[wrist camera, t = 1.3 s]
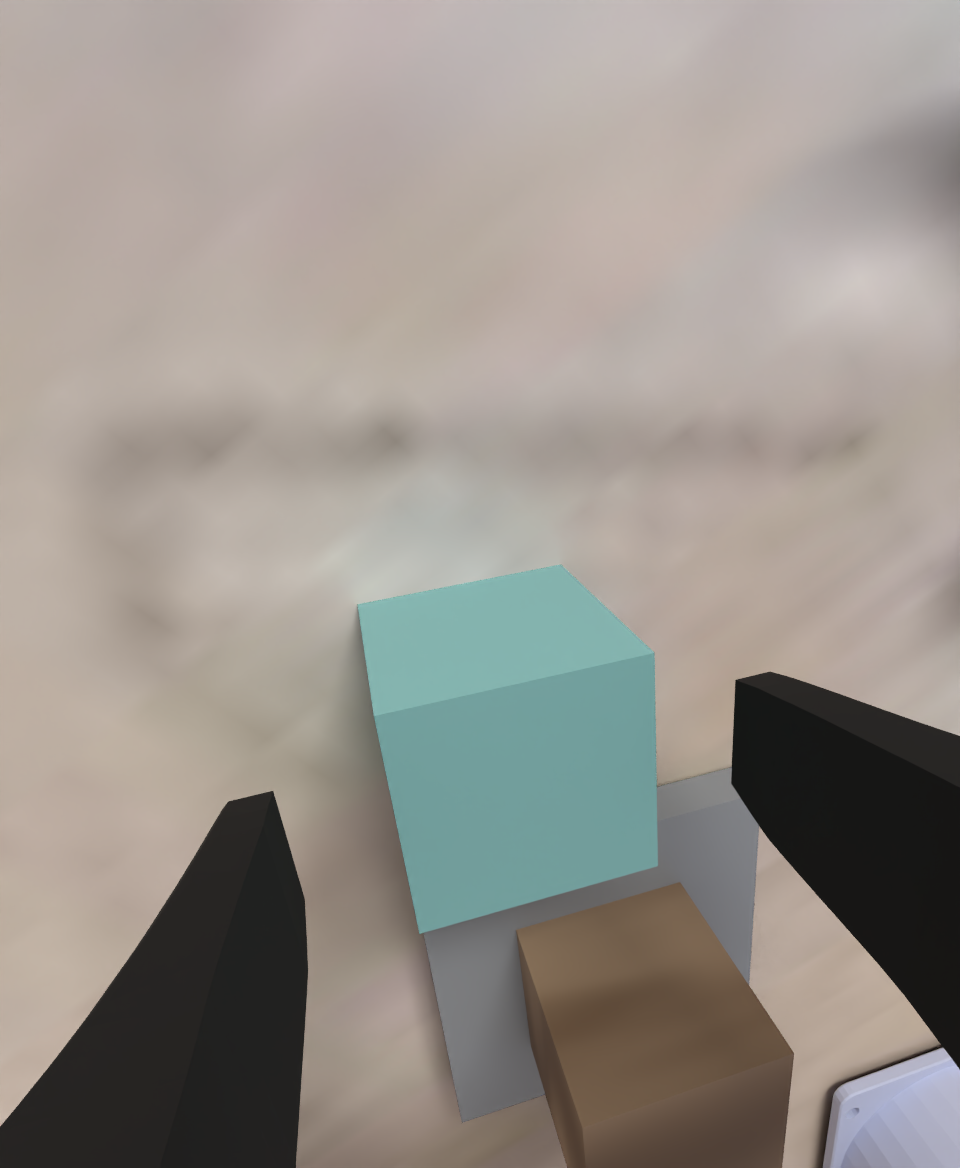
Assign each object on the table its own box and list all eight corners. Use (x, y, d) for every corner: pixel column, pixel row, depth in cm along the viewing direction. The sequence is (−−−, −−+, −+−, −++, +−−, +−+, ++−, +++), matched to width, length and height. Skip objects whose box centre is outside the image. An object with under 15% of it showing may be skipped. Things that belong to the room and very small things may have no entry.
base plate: (725, 992, 19) (746, 1026, 18) (454, 1081, 17) (462, 1122, 17) (735, 766, 16) (761, 792, 15) (407, 852, 14) (414, 887, 13)
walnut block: (679, 998, 17) (780, 1182, 13) (531, 1046, 16) (593, 1254, 12) (680, 881, 15) (793, 1053, 12) (515, 929, 15) (582, 1127, 11)
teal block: (572, 732, 14) (657, 865, 11) (392, 775, 14) (419, 933, 10) (559, 563, 13) (654, 652, 9) (357, 602, 12) (374, 716, 9)
